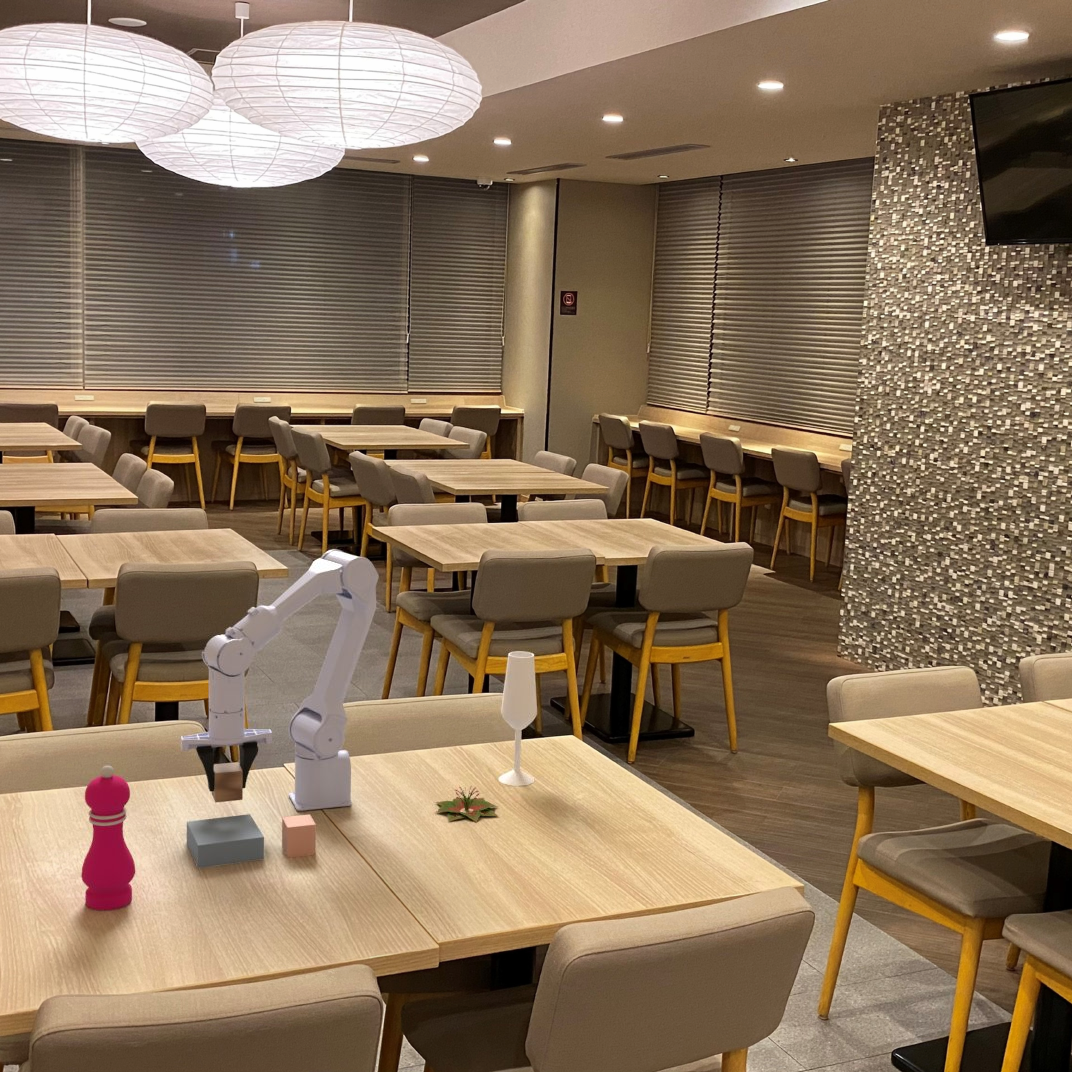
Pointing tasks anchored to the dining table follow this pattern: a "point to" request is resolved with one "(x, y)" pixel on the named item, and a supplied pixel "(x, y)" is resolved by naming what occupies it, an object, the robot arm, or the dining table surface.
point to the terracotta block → (298, 835)
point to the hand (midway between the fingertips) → (226, 787)
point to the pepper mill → (108, 844)
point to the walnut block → (228, 782)
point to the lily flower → (466, 807)
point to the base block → (225, 840)
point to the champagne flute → (519, 707)
